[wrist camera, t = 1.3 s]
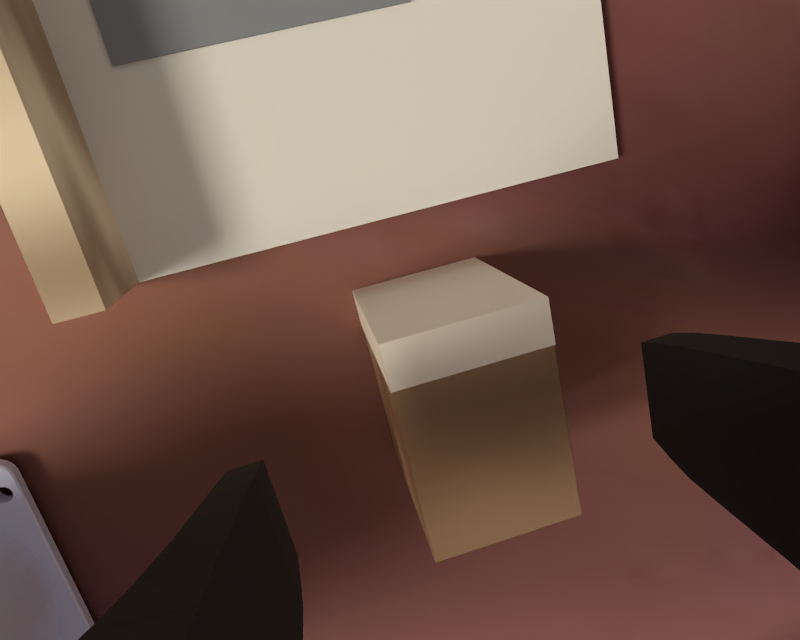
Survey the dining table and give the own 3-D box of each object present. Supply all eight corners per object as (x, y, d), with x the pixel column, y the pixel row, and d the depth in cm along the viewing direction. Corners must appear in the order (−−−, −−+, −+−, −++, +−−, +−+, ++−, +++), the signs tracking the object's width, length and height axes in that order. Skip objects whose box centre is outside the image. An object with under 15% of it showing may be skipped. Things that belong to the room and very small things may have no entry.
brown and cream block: (507, 423, 20) (582, 514, 15) (395, 456, 20) (435, 563, 15) (474, 257, 19) (548, 296, 13) (352, 290, 18) (378, 344, 13)
